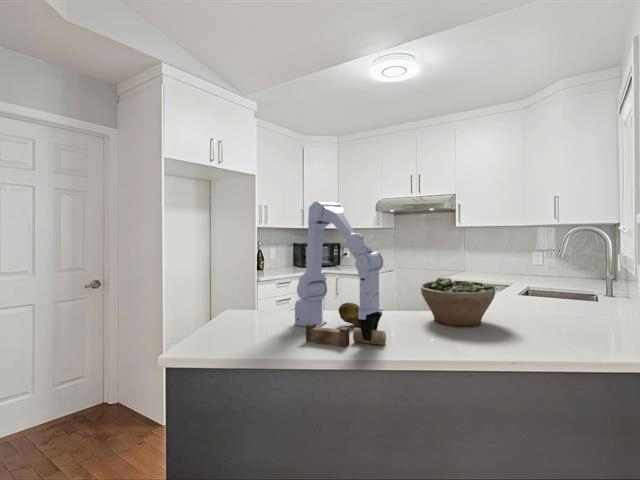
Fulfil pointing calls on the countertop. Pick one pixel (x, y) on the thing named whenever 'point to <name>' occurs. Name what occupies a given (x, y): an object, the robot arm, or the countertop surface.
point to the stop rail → (327, 335)
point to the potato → (349, 313)
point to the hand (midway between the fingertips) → (369, 338)
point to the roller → (377, 338)
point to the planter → (458, 301)
